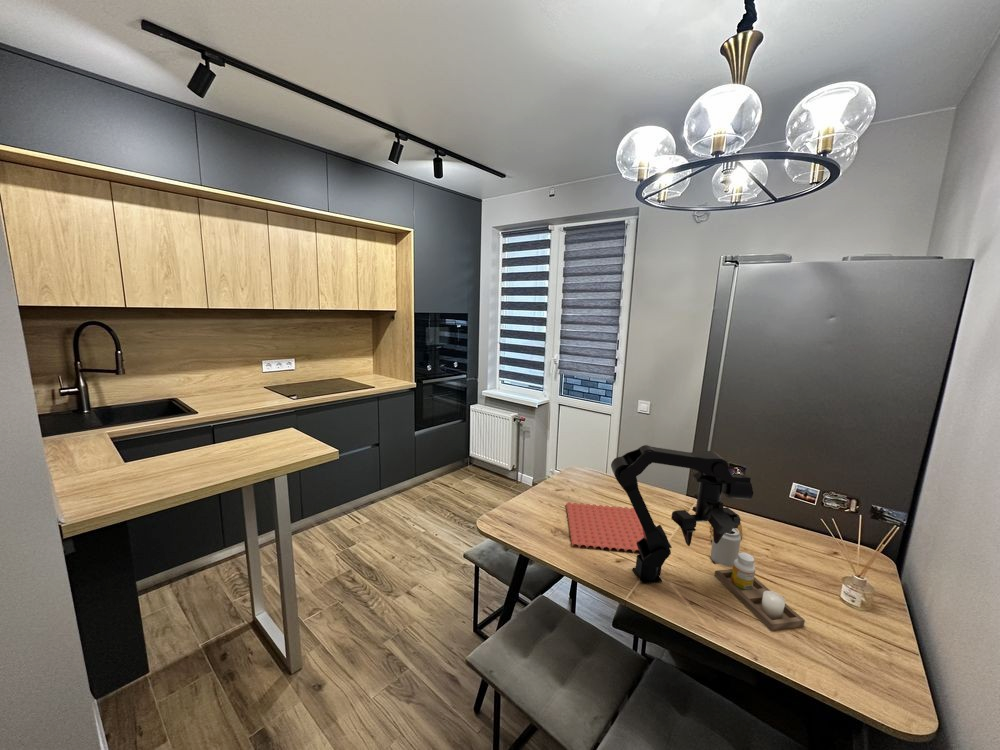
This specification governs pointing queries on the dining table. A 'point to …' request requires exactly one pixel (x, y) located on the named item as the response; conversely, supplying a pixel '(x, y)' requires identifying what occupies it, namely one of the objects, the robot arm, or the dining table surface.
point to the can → (726, 548)
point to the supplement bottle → (743, 572)
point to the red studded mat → (604, 526)
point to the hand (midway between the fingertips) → (701, 543)
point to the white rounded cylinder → (772, 605)
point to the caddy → (759, 603)
